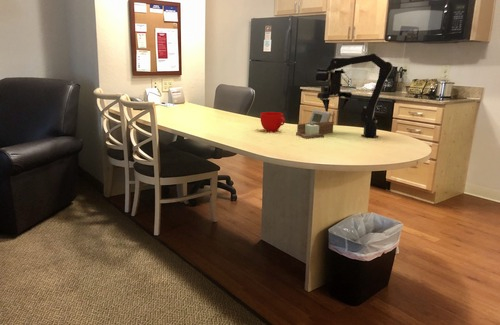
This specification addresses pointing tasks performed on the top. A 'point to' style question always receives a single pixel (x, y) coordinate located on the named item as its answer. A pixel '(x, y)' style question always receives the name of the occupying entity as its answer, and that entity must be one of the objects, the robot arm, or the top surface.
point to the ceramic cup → (271, 121)
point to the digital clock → (319, 116)
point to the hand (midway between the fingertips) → (333, 111)
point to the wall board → (323, 128)
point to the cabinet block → (311, 129)
